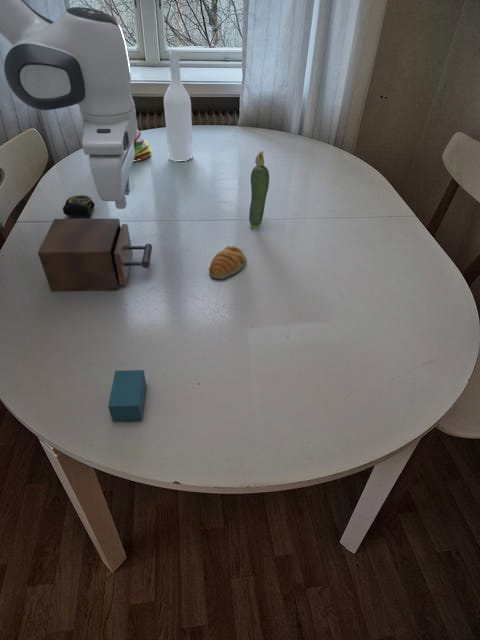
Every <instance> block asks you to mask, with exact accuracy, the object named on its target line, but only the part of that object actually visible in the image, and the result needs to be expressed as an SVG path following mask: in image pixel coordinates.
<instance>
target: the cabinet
mask: <svg viewBox="0 0 480 640" xmlns="http://www.w3.org/2000/svg"><path fill="white" fill-rule="evenodd" d="M121 226H122V225H121V220H120V218H54V219H53V221H52V223H51V225H50V227H49V229H48V231H47V233H46V234H45V237H44V238H43V241H42V243H41V245H40V247H39V248H38V250H37V255H38V258H39V261H40V264H41V266H42V270H43V272H44V274H45V278H46V280H47V284H48V286H49V289H50V291H51V292H92V291H93V292H94V291H95V292H96V291H119V287H120V282H119V277H118V272H116V274H115V270H114V265H113V260H112V256H111V251H112V247H113V244H114V240H115V237H116V233H117V237H119V233H120V229H121Z"/></svg>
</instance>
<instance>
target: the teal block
mask: <svg viewBox="0 0 480 640" xmlns="http://www.w3.org/2000/svg"><path fill="white" fill-rule="evenodd" d="M146 392H147V379H146V376H145V370H144V369H127V370H126V369H125V370H124V369H123V370H122V369H121V370H114V375H113V380H112V386H111V391H110V395H109V401H108V406H107V407H108V410H109V414H110V417H111V421H112V423H113V422H114V423H117V422H119V423H120V422H142V421H143V419H144V418H143V417H144V409H145V402H146V395H147V394H146Z"/></svg>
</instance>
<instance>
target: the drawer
mask: <svg viewBox="0 0 480 640" xmlns="http://www.w3.org/2000/svg"><path fill="white" fill-rule="evenodd" d="M120 226H121V229H120V233H119V237H117V233H116V237H115V240H114V244H113V247H112V251H111V256H112V260H113V265H114V270H115V274H116V272H118V277H119V282H120V283H119V286H126V285H127V281H128V277H129V273H130V267H142V268H144V269H148V268H149V267H150V265H151V258H152V253H153V252H152V251H153V245H152V244H151V243H146V244H144V245H132V242H131V237H130V230H129V224H128V223H121V225H120ZM133 250H140V251H141V250H143V254H142V259H141V261H132V258H133Z"/></svg>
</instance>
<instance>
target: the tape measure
mask: <svg viewBox="0 0 480 640" xmlns="http://www.w3.org/2000/svg"><path fill="white" fill-rule="evenodd" d="M94 209H95V202H94V200H92V198H91V197H90V196H89V195H85V194H77V195H73V196H71V197H69V198H67V199H66V201H65V204H64V205H63V207H62V212H63V215H65V216H66V217H67V216H68V217H77V218H79V217H84V218H90V217H91V216H92V213H94Z"/></svg>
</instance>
